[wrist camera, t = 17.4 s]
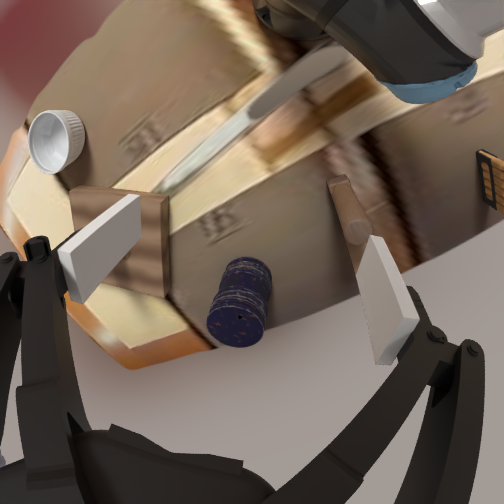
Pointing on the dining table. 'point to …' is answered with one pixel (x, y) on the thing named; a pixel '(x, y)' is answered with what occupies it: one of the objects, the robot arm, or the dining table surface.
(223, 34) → the dining table surface
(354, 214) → the wooden peg block
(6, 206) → the dining table surface
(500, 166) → the ammunition clip
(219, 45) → the dining table surface
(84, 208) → the walnut board
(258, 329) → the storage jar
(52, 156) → the ramekin
